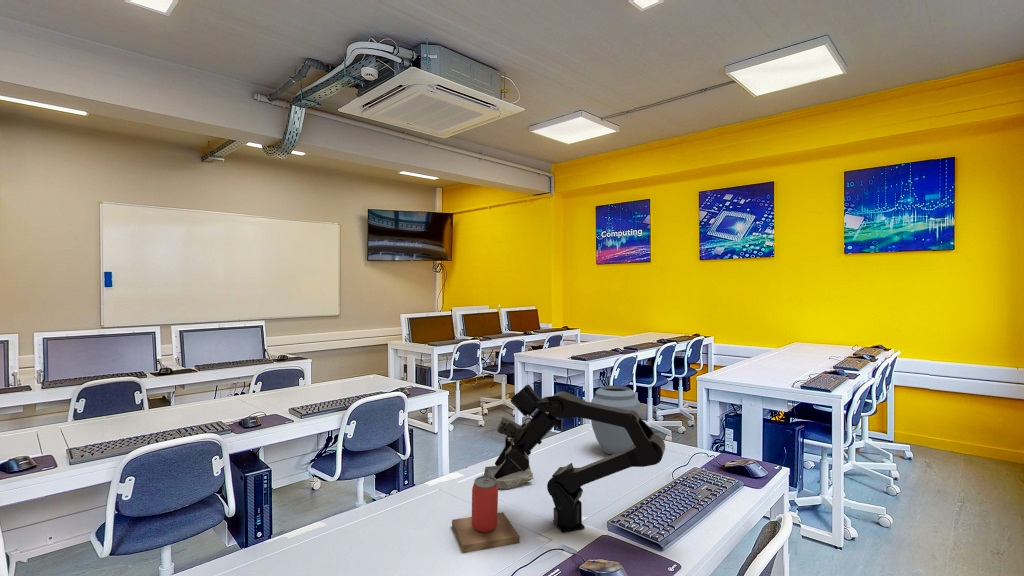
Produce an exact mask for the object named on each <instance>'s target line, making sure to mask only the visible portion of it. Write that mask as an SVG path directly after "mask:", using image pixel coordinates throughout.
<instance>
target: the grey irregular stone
mask: <svg viewBox="0 0 1024 576" xmlns="http://www.w3.org/2000/svg"><path fill="white" fill-rule="evenodd" d="M501 465H502V464H501ZM501 465H499V466H496V465H492V466H491V465H489V466H485V467H484V472H483V473H484V474H483V476H484V475H485V476H491V477H493V478H494V479H495V480H496V484H497V486H498V489H505V490H509V489H514V488H516V487H519V486H520V487H521V486H522V485H524V484H525V483H526V482H529V481H531V480H534V477H533V475H534V473H533V472H532V469H531V466H530V465H529V467H528V468H527V469H526V470H525V471H521V472H520V471H519V472H516V473H512V474H510V475H507V476H504V477H501V478H499V479H496V478H495V477H494V475H495V473H496V472H497V470H498V469H499V468H500V466H501Z"/></svg>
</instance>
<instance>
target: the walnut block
mask: <svg viewBox="0 0 1024 576" xmlns="http://www.w3.org/2000/svg"><path fill="white" fill-rule="evenodd" d="M451 527H452V530H453V532H454V534H455V536H456V538H457V539H456V540H457V541H458V543H459V545H460V548H461V551H462V553H463V554H466V553H472V552H478V551H483V550H490V549H495V548H501V547H507V546H513V545H517V544H521V543H520V542H521V541H520V540H521V537H520V535H519V533H518V531H517V530H516V528H515V527H514V526H513V525H512V523H511V521H510V520H509V519H508V517H507V516H506V514H505V513H504V512H503V511H501V512H498V514H497V526H496V528H495V529H493V530H491V531H489V532H480V531H477V530H475V529H474V528H473V526H472V516H468V517H462V518H455V519H452V520H451Z"/></svg>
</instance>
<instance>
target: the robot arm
mask: <svg viewBox="0 0 1024 576" xmlns="http://www.w3.org/2000/svg"><path fill="white" fill-rule="evenodd" d="M509 402H510V403H511V404H512V405H513V406H514V407H515V408H516V409H517V410H518V411H519V413H520V414H522V416H523V417H528V416H529V417H531V416H532V417H531V419H529V421H528V422H523V423H522V424H519V423H517V422H514V421H513V420H510V419H508V418H506V417H501V419H500V421H499V423H498V426H497V431H496V432H497V433H498V434H500V435H504V436H505V438H504V440H505V442H504V443H505V445H504V447H503V449H502V450H501V452H500V454H499V455H498V457H497V458H496V460H495V462H494V466H499V465H501V466H500V468H499V469H498V470H497V472H496V473H495V475H494V477H495V478H496V479H499V478H501V477H504V476H507V475H510V474H512V473H516V472H519V471H520V472H521V471H525V470H526V469H527V468H528V467H529V466H530V458H529V457H530V455H531V454H532V450H533V449H534V448H535V447H536V446H537V445H538V446H540V445H541V444H542V443H543V441H542V440H543V439H544V438H545V437H546V436H547V434H549V433H550V431H551V430H553V429H554V428H555V427H556V428H557V429H558V430H559V431H560V430H563V424H564V423H563V421H564V419H578V418H580V419H585V420H589V421H591V420H593V421H598V422H602V423H607V424H611V425H615V426H620V427H624V428H625V429H626V431H627V432H628V434H629V436H630V438H631V440H632V442H633V445H632V446H631V447H629V448H628V449H626V450H624V451H621V452H619V453H616V454H614V455H609V456H607V457H604V458H601V459H599V460H596V461H593V462H591V463H589V464H586V465H584V466H581V467H574V464H573V463H572V462H570V463H569V464H567V465H565V466H559V467H558V468H557V470H556V471H555V472H554V473H553V474H552V475H551V476H552V477H551V478H550V479H549V480H548V481H547V484H546V489H547V493H548V494H549V495H550V497H551V498H552V501H553V504H554V507H553V519H552V523H553V524H554V525H555V526H556V527H557V528H558V529H559V531H560V532H561V533H568V532H573V531H579V530H584V529H585V528H586V527H585V525H584V524H583V516H582V515H583V514H582V512H583V510H582V503H583V502H582V501H581V500H580V498H581V497H582V495H583V494H584V493H583V492H584V490H583V488H582V486H585V485H587V484H589V483H592V482H595V481H598V480H600V479H603V478H605V477H608V476H611V475H614V474H617V473H619V472H621V471H624V470H626V469H630V468H644V467H650V466H656V465H658V464H660V462H661V461H663V460H662V458H663V456H664V453H665V451H666V444H665V443H666V442H665V441H664V439H663V438H662V437H660V435H658V434H656V433H655V432H654V431H653V429H652V428H651V427H650V426H649V425H648V424H647V423H646V422H645V421H644V420H643V419H642V417H641V418H640V416H639V415H638V413H637V412H635V411H633V410H624V409H619V408H615V407H610V406H605V405H600V404H596V403H591V401H586V400H584V399H581V398H580V397H578V396H577V395H574V394H572V393H570V392H567V391H559V392H558V391H557V392H556V393H555V394H553V395H551V396H550V395H549V396H544V397H542V398H541V396H540V395H539V394H538V393H537V392H535V390H534V389H533V387H532V386H531V385H530V384H526V385H525V386H523V388H522V389H521V390H519V391H518V392H517V393H515V394H514V395H513V396H512V398H511V399H510V401H509ZM536 412H537V413H536ZM533 415H534V416H533Z"/></svg>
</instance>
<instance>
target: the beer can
mask: <svg viewBox="0 0 1024 576" xmlns="http://www.w3.org/2000/svg"><path fill="white" fill-rule="evenodd" d="M498 504H499V488H498V486H497V484H496V480H495V479H494V478H493V477H491V476H484V475H481V476H478V477H476V478H475V479H474V482H473V485H472V488H471V517H472V526H473V528H474V529H475V530H477V531H480V532H489V531H491V530H493V529H495V528H496V526H497V514H498V513H499V512H498V509H499V508H498Z"/></svg>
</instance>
